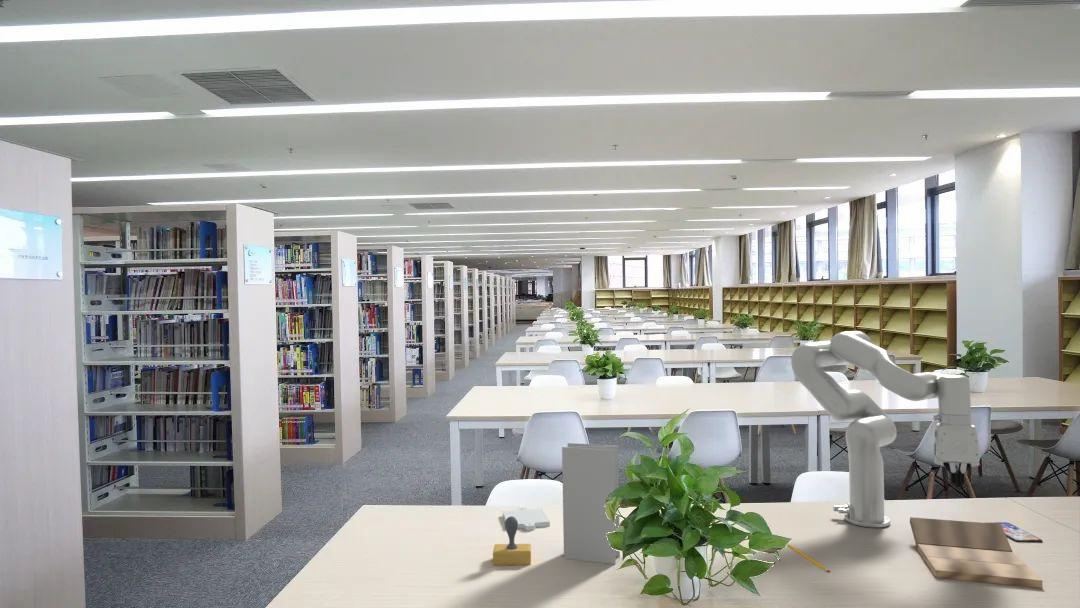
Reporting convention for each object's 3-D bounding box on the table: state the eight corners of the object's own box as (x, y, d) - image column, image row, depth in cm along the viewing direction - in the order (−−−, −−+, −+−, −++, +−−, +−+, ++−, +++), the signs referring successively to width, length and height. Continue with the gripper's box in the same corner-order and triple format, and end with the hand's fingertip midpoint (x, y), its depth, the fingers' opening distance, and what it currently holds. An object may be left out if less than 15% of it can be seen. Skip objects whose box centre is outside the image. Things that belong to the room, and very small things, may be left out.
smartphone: (1015, 540, 181) (982, 522, 196) (1015, 543, 181) (982, 525, 196) (1043, 540, 180) (1008, 522, 195) (1044, 543, 180) (1008, 525, 195)
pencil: (827, 573, 163) (827, 570, 163) (785, 545, 182) (785, 543, 182) (830, 573, 163) (830, 570, 163) (788, 545, 182) (788, 543, 182)
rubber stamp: (492, 566, 171) (492, 520, 171) (494, 557, 177) (493, 513, 177) (530, 565, 171) (529, 519, 171) (531, 556, 177) (530, 512, 177)
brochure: (620, 556, 176) (618, 445, 175) (615, 564, 170) (613, 450, 170) (569, 550, 180) (567, 442, 180) (563, 558, 175) (562, 447, 175)
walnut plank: (916, 547, 177) (917, 542, 176) (909, 521, 185) (910, 517, 184) (1011, 555, 170) (1012, 551, 170) (1000, 528, 178) (1001, 524, 177)
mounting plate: (501, 514, 213) (501, 509, 213) (540, 511, 215) (540, 506, 215) (509, 533, 195) (509, 527, 195) (551, 530, 198) (551, 524, 198)
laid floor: (935, 577, 159) (935, 570, 159) (917, 550, 176) (917, 544, 176) (1042, 588, 152) (1042, 580, 152) (1013, 559, 169) (1012, 552, 169)
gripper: (927, 421, 178) (930, 488, 178) (991, 422, 173) (993, 491, 173) (920, 417, 185) (923, 481, 185) (981, 418, 180) (984, 484, 180)
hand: (957, 486), depth 179 cm, fingers closed
